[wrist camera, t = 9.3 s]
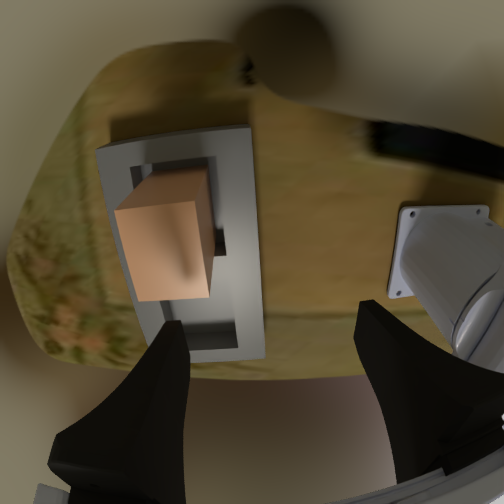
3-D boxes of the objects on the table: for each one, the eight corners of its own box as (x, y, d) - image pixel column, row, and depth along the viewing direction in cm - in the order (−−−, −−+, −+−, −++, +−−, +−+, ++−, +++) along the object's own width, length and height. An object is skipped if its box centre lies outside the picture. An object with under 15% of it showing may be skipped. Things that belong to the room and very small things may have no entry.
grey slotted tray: (249, 123, 18) (251, 127, 16) (263, 337, 26) (265, 360, 24) (110, 142, 18) (93, 150, 16) (159, 342, 26) (154, 365, 24)
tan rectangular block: (208, 164, 19) (194, 201, 13) (216, 235, 21) (209, 297, 15) (151, 171, 19) (114, 210, 13) (164, 239, 21) (138, 301, 15)
